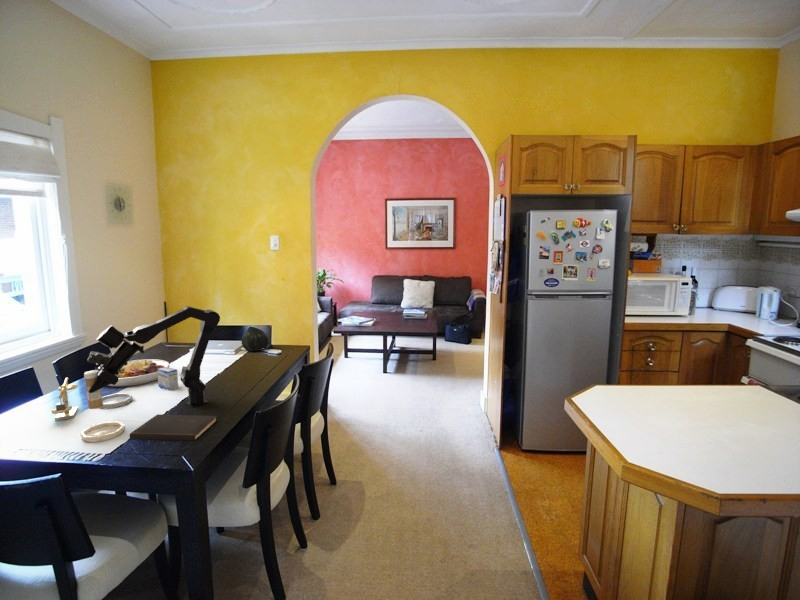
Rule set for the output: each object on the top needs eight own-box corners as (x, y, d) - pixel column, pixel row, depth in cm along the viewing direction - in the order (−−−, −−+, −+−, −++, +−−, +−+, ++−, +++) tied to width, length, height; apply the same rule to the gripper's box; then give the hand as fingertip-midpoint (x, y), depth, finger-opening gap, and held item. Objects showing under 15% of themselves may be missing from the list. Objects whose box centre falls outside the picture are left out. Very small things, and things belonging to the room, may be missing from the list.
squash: (271, 343, 253) (265, 321, 260) (244, 347, 246) (239, 325, 253) (268, 354, 264) (263, 333, 271) (242, 358, 257) (238, 337, 263)
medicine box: (158, 387, 196) (156, 369, 195) (167, 384, 200) (166, 366, 199) (169, 390, 193) (168, 371, 191) (178, 387, 197) (177, 369, 195)
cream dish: (128, 433, 152) (128, 428, 151) (88, 445, 143) (87, 440, 142) (117, 423, 159) (116, 418, 159) (77, 434, 150) (77, 429, 150)
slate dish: (136, 402, 179) (135, 398, 179) (102, 411, 170) (101, 406, 170) (125, 395, 187) (125, 391, 187) (93, 403, 178) (92, 399, 178)
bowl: (81, 384, 200) (79, 368, 199) (139, 366, 228) (137, 351, 227) (129, 392, 191) (128, 375, 189) (183, 372, 219) (182, 357, 217)
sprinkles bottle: (91, 405, 159) (87, 370, 157) (105, 404, 160) (101, 369, 158) (86, 410, 155) (81, 374, 153) (100, 408, 156) (96, 373, 154)
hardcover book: (157, 420, 164) (157, 414, 163) (217, 421, 162) (216, 415, 162) (129, 440, 148) (129, 433, 147) (195, 442, 147) (194, 435, 146)
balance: (62, 407, 173) (59, 376, 171) (81, 405, 176) (77, 373, 174) (51, 426, 157) (46, 391, 155) (71, 422, 160) (67, 388, 158)
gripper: (100, 338, 163) (67, 372, 159) (103, 348, 149) (67, 386, 144) (127, 354, 169) (96, 387, 165) (132, 366, 155) (98, 403, 150)
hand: (89, 390), depth 156 cm, fingers closed on sprinkles bottle, 4 cm apart
